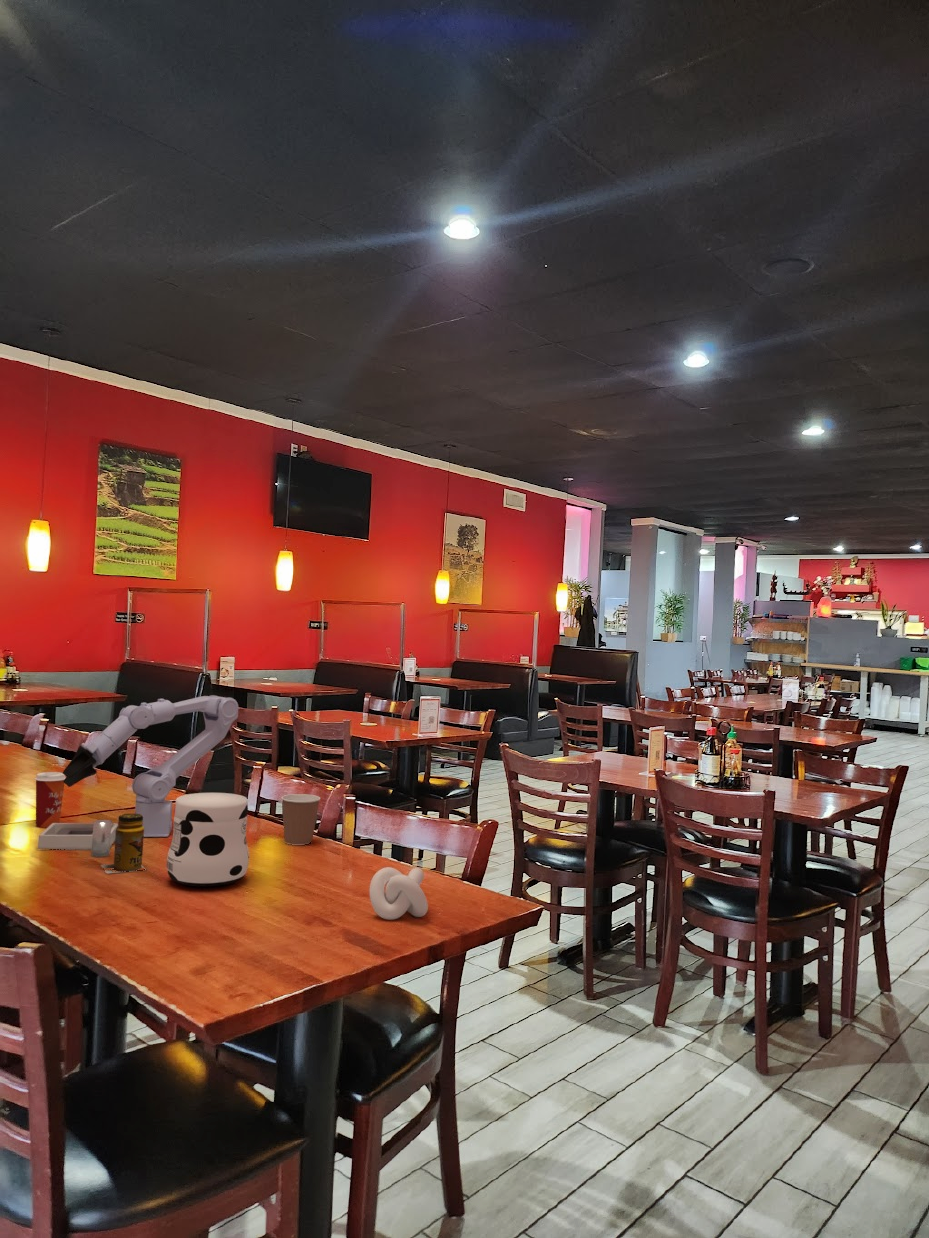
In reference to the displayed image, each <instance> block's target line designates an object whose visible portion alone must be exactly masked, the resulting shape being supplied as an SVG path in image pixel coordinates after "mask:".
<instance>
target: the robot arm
mask: <svg viewBox="0 0 929 1238" xmlns="http://www.w3.org/2000/svg"><path fill="white" fill-rule="evenodd" d="M193 712H194V713H196V712H201V713H202V714H203V718H204V725H205V728H204V730H202V731H201V732H200V733H199V734H198V735H196V736H195V737H194V738H192V740H190V741H189V742H188V743H187V744H185V745H184V746H183V747H182V748H180V749H179V750H178V751H177V752H176V753H174V754H173V755H172V756H171V757H169V758H168V759H167V760H166V761H165V762H163V763H162V764H159V765H158V766H154V767H152V768H150V769H149V770H148V771H146V772H142V773H139V774H138V775H136V777H134V778H133V781H132V783H131V789H132V792H133V793H134V794H135V807H134V809H135V810H134V814H141V815H142V816H143V824H142V826H143V827H144V837H143V838H148V837H149V838H157V837H158V838H162V837H163V838H164V837H165V838H167V837H169V836H170V834H171V831H172V828H173V827H172V826H173V822H172V820H173V801H172V800H166V798H167V797H168V795H169V794H170V791H171V790H172V789H173V788H174V787H176V781H177V779H178V778H179V777H180V776H181V775H182V774H183V773H184V772H185V771H187V770H189V768H190V767H192V766H193V765H194V764H195V763H197V762H198V761H199V760H201V758H203V757H204V756H205V755H206V754H207V753H208V752H210V751H211V750H212V749H213V748H215V747H216V746H217V745H218V744H219V743H220V742H221V741H223V740H224V739H225V737H226V736H227V734H228V732H229V730H230V728H231V726H232V724H233V723H234V722H235V721H236V720H237V719H238V718H239V704H238V702H237V700H236V699H234V698H233V697H226V696H224V697H223V696H218V695H214V694H212V695H209V696H208V695H203V696H197V697H193V698H190V699H186V700H181V701H178V702H174V703H173V702H171V701H170V700H168V699H164V698H158V699H157V701H155V702H149V703H147V702H141V703H140V705H139V706H138V705H133V704H131V705H130V704H129V705H128V706H126V707H122V709H121V710H120V712H119V715H118V717H117V718H116V719H114V721H112V722H111V724H109V725H108V726H107V727H106V728H105V729H104V730H102V731H101V732H100V733H99V734H98V735H97V736H96V737H95V738H94V739H93V740H92V741H90V742H89V743H88V744H86V743H85V742H82V743H81V745H79V746H78V747H77V750H76V752H75V755H74V756H73V758H72V759H71V760H70V762H68V765H67V766H66V767H65V768H64V769H63V771H62V773H63V774H64V775H65V777H66V778H65V779H64V781H63V782H64V785H66V786H67V787H68V788H71V787H73V786H74V785H76V784H77V783H79V782H80V781H82V780H84V779H86V778H89V777H91V776H94V775H96V774H97V773H98V770H97V769H95V768H96V767H97V766H99V765H103V763H105V761H106V759H108V758H109V757H110V756H111V755H112V754H113V753H114V752H116V750H117V749H119V748H120V747H121V746H122V745H123V744H124V743H125V742H126V741H127V740H128V739H129V738H131V736H132V735H134V734H135V732H137V731H138V730H141V729H143V730H144V729H147V728H148V727H149V726H152V725H157V724H161V723H165V722H171V721H172V720H173V719H174V717H175V716H177V715H178V716H179V715H183V714H189V713H193Z"/></svg>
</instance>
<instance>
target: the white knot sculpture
mask: <svg viewBox="0 0 929 1238" xmlns="http://www.w3.org/2000/svg"><path fill="white" fill-rule="evenodd" d="M424 875H425V873H424V872H423V870H422V869H421V868H419V867H414V868H413V869H411V870H410V871H409V873H408V874H403V873H402V872H401V871H399V870H398V869H396V868H394V867H391V866H389V867H388V866H386V867H383V868H381V869H379V870H377V871H376V873H375V874H374V875H373V876H372V878H371V880H370V884H369V900H370V903H371V906H372V908H373V910H374V912H375V913H376V915H378V916H379V917H380V918H381V919H384V920H385V921H387V920H388V921H392V920H393V921H394V920H397V919H399V918H401V917H402V916H403V915H404V914H405V913H406V912H408V913H409V914H410V915H412V916H413V917H415V918H423V916H426V914H427V912H428V910H429V905H428V900H427V897H426V894H425V893H424V891H423V889H422V888H421V885H422V882H423V880H424V877H425V876H424Z"/></svg>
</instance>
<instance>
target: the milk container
mask: <svg viewBox="0 0 929 1238" xmlns="http://www.w3.org/2000/svg"><path fill="white" fill-rule="evenodd" d="M248 803H249V801H248V798H247V796H244V795H241V794H235V793H229V792H228V793H226V792H198V793H196V792H195V793H188V794H184V795H183V794H182V795H179V796H178V797H177V798H176V800H175V803H174V804H175V805H174V816H173V824H172V826H173V827H172V828H173V830H172V831H173V832H172V833H173V834H172V840H171V844H170V847H169V849H168V853H167V857H166V869H167V874H168V876H169V878H170V879H171V880H172V881H174V882H176V883H178V884H181V885H184V886H191V887H197V888H198V887H199V888H200V887H202V888H203V887H207V888H208V887H218V886H223V885H229V884H234V883H235V882H238V881H239V880H241V879H242V878H243V877H244V876H245V875H246V873H247V870H248V868H249V863H250V853H249V847H248V843H247V842H248V841H247V827H248V813H249V804H248Z"/></svg>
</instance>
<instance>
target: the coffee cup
mask: <svg viewBox="0 0 929 1238" xmlns="http://www.w3.org/2000/svg"><path fill="white" fill-rule="evenodd" d="M280 799H281V800H282V801H281V802H282V820H283V821H282V823H283V837H284V842H286V843H289V844H292V845H304V844H308V843H310V842H311V841H312V842H313V838H314V833H315V827H316V822H317V821H316V820H317V815H318V809H319V803H320V800H321V797H320V796H318V795H316V794H315V795H314V794H305V793H293V794H292V793H291V794H285V795H282V796H281V797H280ZM312 842H311V843H312ZM286 843H285V844H286ZM292 845H291V846H292Z"/></svg>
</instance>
